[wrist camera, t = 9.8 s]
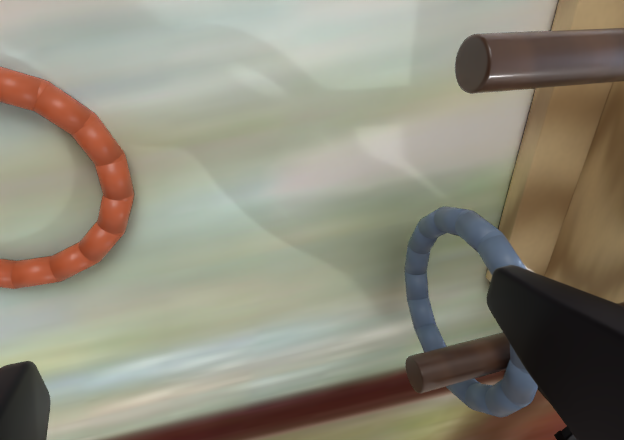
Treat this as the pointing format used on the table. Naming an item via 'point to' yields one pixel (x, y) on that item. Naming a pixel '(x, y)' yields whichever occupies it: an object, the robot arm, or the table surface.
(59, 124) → the terracotta ring
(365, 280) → the table surface
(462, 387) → the slate ring
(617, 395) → the robot arm
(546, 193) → the peg rack
